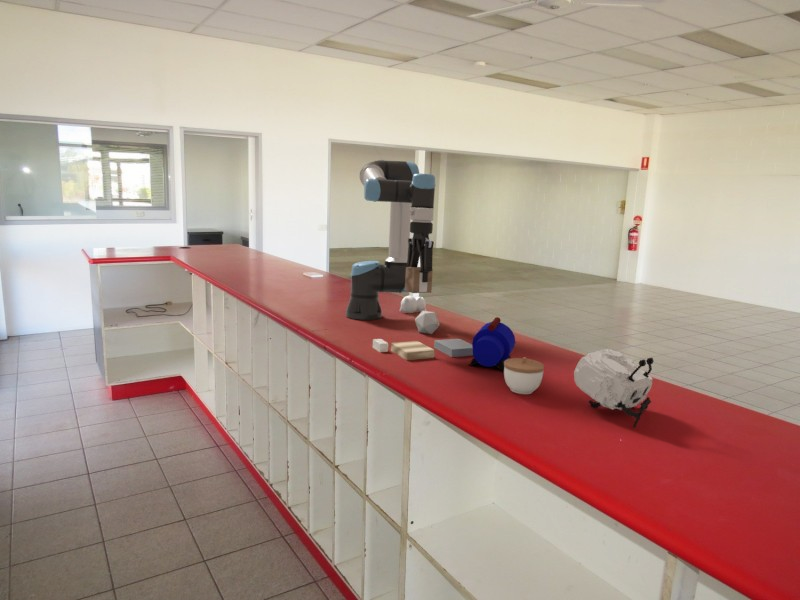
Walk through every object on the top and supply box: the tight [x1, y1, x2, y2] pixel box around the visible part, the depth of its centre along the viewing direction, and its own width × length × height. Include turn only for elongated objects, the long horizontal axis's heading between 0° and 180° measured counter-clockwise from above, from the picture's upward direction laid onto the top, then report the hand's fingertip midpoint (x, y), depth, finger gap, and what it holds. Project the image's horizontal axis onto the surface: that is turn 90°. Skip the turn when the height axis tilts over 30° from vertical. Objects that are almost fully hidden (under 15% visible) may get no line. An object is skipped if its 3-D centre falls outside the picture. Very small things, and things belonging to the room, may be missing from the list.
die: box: [414, 310, 441, 335], centre depth 215 cm, size 8×9×10 cm
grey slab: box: [433, 338, 473, 358], centre depth 191 cm, size 12×10×3 cm
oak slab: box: [390, 340, 436, 361], centre depth 185 cm, size 12×10×3 cm
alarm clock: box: [467, 316, 516, 372], centre depth 175 cm, size 12×12×15 cm
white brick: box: [372, 338, 389, 353], centre depth 189 cm, size 6×3×3 cm, turn 26°
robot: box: [573, 348, 655, 429], centre depth 141 cm, size 17×20×18 cm
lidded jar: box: [503, 356, 545, 395], centre depth 154 cm, size 11×11×9 cm
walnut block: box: [405, 266, 434, 294], centre depth 190 cm, size 6×7×8 cm
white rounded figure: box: [399, 295, 428, 314], centre depth 250 cm, size 9×11×12 cm
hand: (418, 290), depth 191 cm, fingers closed on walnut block, 6 cm apart
